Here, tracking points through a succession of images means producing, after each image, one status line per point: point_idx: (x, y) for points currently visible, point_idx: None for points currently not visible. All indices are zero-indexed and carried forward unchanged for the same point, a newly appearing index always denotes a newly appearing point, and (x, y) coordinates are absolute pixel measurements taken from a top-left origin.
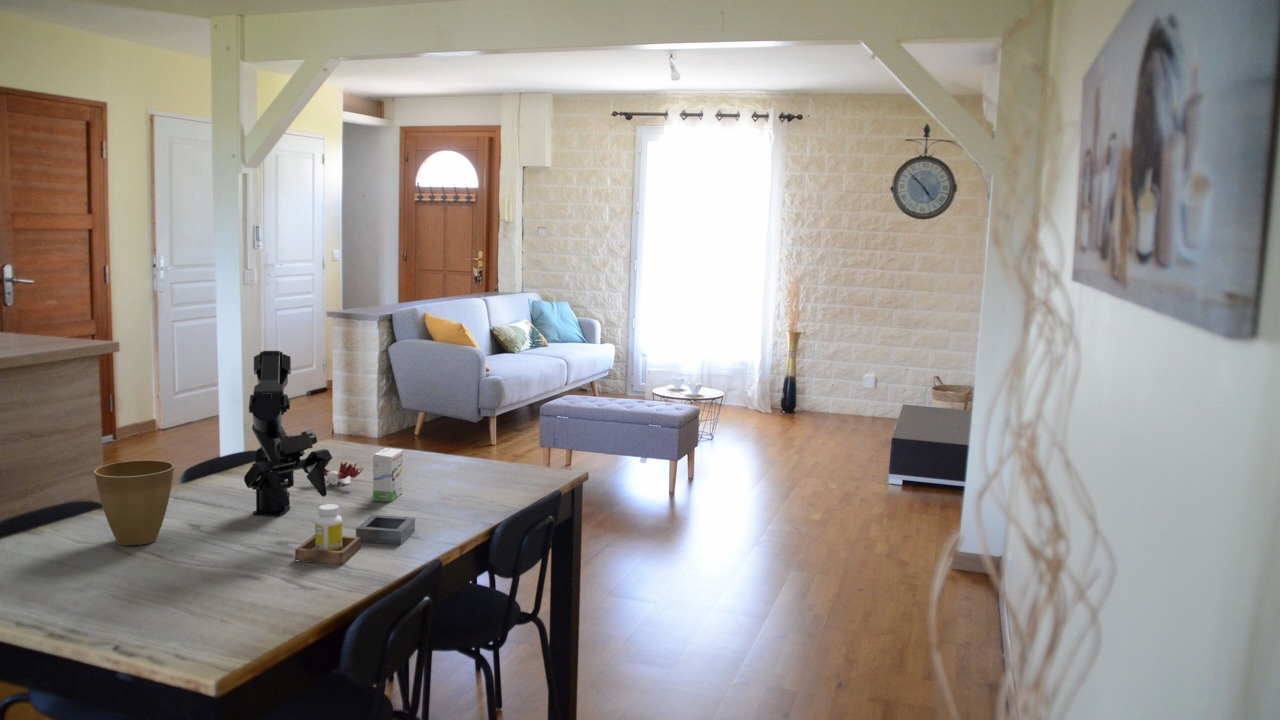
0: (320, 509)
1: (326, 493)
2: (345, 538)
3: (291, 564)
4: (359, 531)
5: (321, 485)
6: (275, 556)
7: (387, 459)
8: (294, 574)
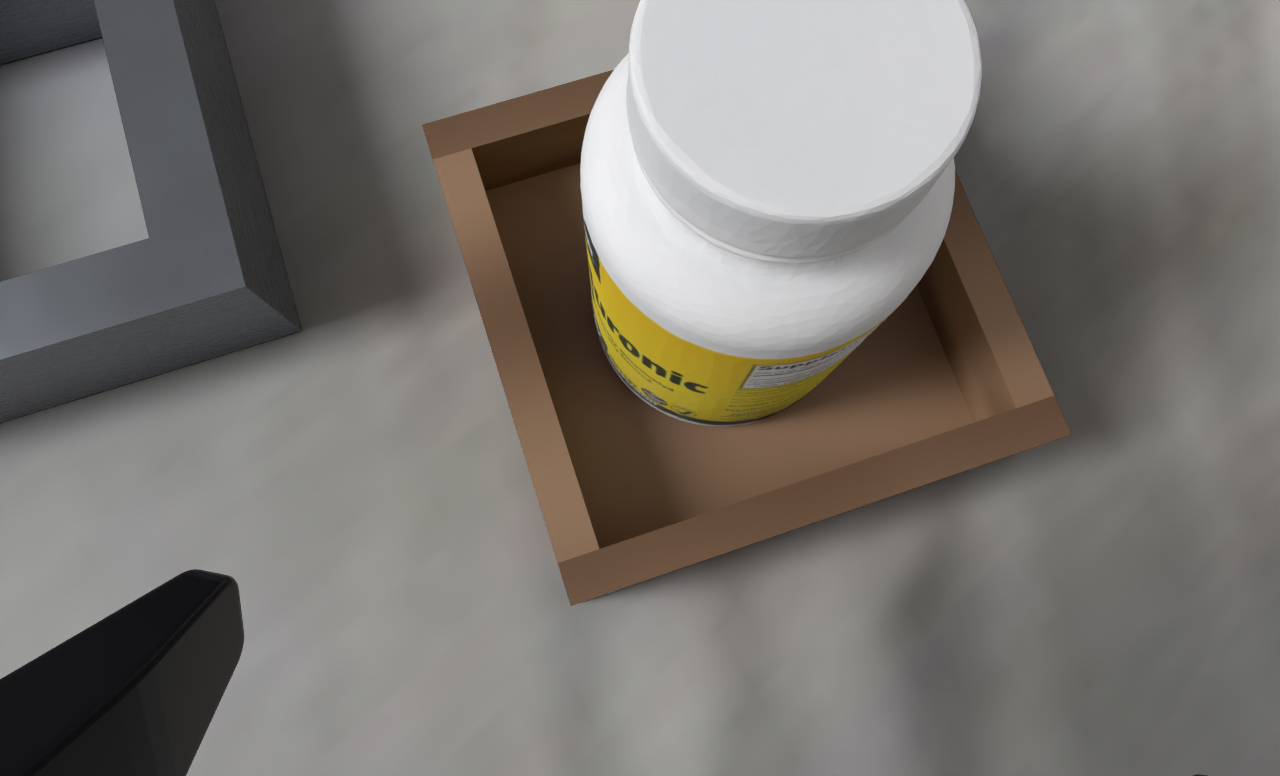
0: (974, 105)
1: (185, 573)
2: (502, 252)
3: (1085, 429)
4: (249, 261)
5: (64, 762)
6: (1021, 718)
7: None
8: (1234, 245)
